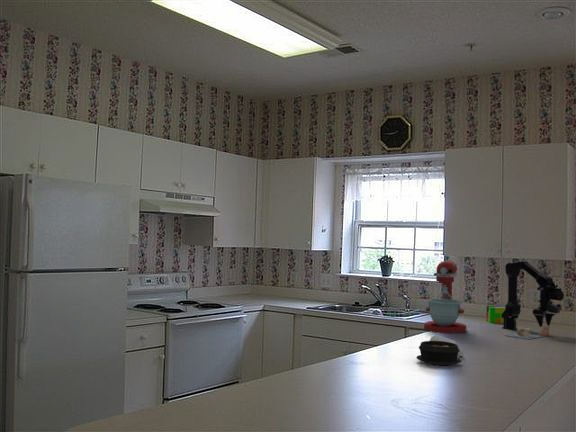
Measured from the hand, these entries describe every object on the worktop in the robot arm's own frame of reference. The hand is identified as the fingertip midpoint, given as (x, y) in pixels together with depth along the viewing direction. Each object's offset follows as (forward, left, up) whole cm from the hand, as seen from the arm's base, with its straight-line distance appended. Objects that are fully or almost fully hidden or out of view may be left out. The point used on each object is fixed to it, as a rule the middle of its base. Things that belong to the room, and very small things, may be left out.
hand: (544, 326), depth 350 cm
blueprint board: (-5, -15, -5) cm, 17 cm away
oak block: (-5, -15, -5) cm, 16 cm away
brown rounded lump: (0, 0, -5) cm, 5 cm away
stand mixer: (-44, -33, -5) cm, 55 cm away
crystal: (-1, -97, -6) cm, 97 cm away
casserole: (+11, -121, -5) cm, 122 cm away
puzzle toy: (-45, +27, -5) cm, 53 cm away
